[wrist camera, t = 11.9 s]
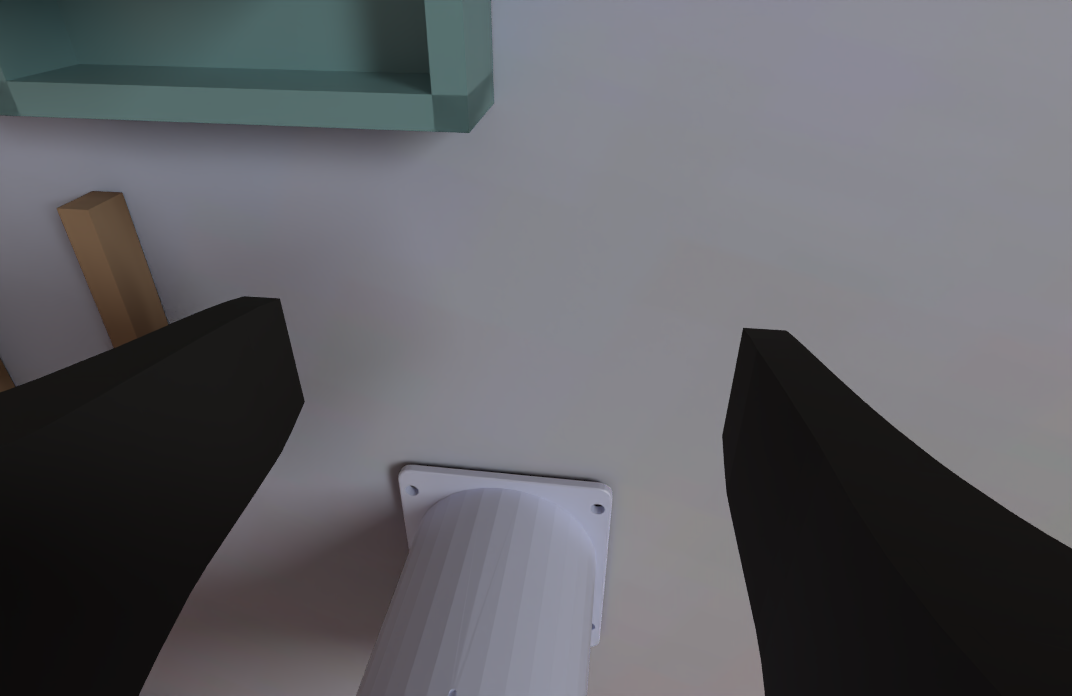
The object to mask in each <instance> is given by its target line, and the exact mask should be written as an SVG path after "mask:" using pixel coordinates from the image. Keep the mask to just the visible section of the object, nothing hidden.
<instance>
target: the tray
mask: <svg viewBox="0 0 1072 696" xmlns="http://www.w3.org/2000/svg"><path fill="white" fill-rule="evenodd" d="M493 104H494V89H493V57H492V25H491V0H0V115H5V116H32V117H59V118H85V119H112V120H139V121H166V122H192V123H219V124H246V125H272V126H299V127H326V128H352V129H379V130H406V131H432V132H459V133H470V131H471V130H472V129H473V128H474V127H475V125H476V124H477V123H478V122H479V121H480V119H481V118H482V117H483V116H484V115H485V113H486V112H487V111H488V110H489V109H490V107H491V106H492V105H493Z"/></svg>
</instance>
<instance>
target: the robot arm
mask: <svg viewBox="0 0 1072 696" xmlns="http://www.w3.org/2000/svg"><path fill="white" fill-rule="evenodd" d="M304 402H305V401H304V397H303V393H302V389H301V385H300V381H299V376H298V372H297V368H296V364H295V360H294V356H293V352H292V347H291V343H290V339H289V335H288V331H287V327H286V323H285V318H284V314H283V310H282V306H281V302H280V299H277V298H261V297H245V296H244V297H240V298H237V299H233V300H230V301H227V302H224V303H221V304H218V305H216V306H213V307H210V308H208V309H205V310H203V311H200V312H198V313H195V314H193V315H191V316H188V317H186V318H183V319H181V320H179V321H176V322H174V323H172V324H169V325H167V326H165V327H162V328H160V329H158V330H155V331H153V332H151V333H148V334H146V335H144V336H141V337H139V338H137V339H134V340H132V341H130V342H128V343H125V344H123V345H121V346H118V347H116V348H113V349H111V350H109V351H106V352H104V353H101V354H99V355H96V356H94V357H91V358H89V359H86V360H84V361H81V362H79V363H76V364H74V365H71V366H69V367H66V368H64V369H61V370H59V371H56V372H54V373H51V374H49V375H46V376H44V377H41V378H39V379H36V380H33V381H31V382H28V383H25V384H22V385H20V386H17V387H14V388H11V389H9V390H6V391H3V392H0V696H139V693H140V691H141V689H142V687H143V685H144V683H145V681H146V679H147V677H148V675H149V673H150V671H151V669H152V667H153V664H154V662H155V660H156V658H157V656H158V654H159V652H160V650H161V648H162V646H163V644H164V643H165V641H166V639H167V637H168V635H169V633H170V631H171V629H172V627H173V625H174V623H175V621H176V620H177V618H178V616H179V614H180V612H181V610H182V608H183V606H184V604H185V602H186V600H187V598H188V597H189V595H190V593H191V591H192V590H193V588H194V586H195V585H196V583H197V581H198V580H199V578H200V576H201V575H202V573H203V572H204V570H205V568H206V567H207V565H208V564H209V562H210V561H211V559H212V558H213V556H214V555H215V553H216V552H217V550H218V549H219V547H220V546H221V544H222V542H223V541H224V539H225V538H226V536H227V535H228V533H229V532H230V530H231V529H232V527H233V526H234V524H235V523H236V521H237V520H238V518H239V517H240V515H241V514H242V512H243V511H244V509H245V508H246V506H247V505H248V503H249V502H250V500H251V499H252V497H253V496H254V494H255V493H256V491H257V490H258V488H259V487H260V485H261V484H262V482H263V481H264V479H265V477H266V476H267V474H268V473H269V471H270V470H271V468H272V467H273V465H274V464H275V462H276V460H277V459H278V457H279V456H280V454H281V452H282V450H283V448H284V446H285V444H286V442H287V440H288V438H289V436H290V434H291V432H292V430H293V427H294V425H295V423H296V420H297V418H298V416H299V414H300V411H301V409H302V407H303V404H304ZM722 438H723V453H724V468H725V479H726V491H727V497H728V502H729V507H730V512H731V517H732V521H733V526H734V531H735V536H736V540H737V545H738V550H739V554H740V559H741V563H742V568H743V573H744V577H745V582H746V586H747V591H748V596H749V600H750V605H751V610H752V614H753V619H754V623H755V628H756V634H757V639H758V645H759V651H760V657H761V663H762V672H763V681H764V690H765V696H1072V549H1071V548H1070V547H1068V546H1066V545H1065V544H1063V543H1061V542H1059V541H1058V540H1056V539H1054V538H1053V537H1051V536H1049V535H1047V534H1046V533H1044V532H1042V531H1041V530H1039V529H1038V528H1036V527H1034V526H1033V525H1031V524H1030V523H1028V522H1026V521H1025V520H1023V519H1022V518H1020V517H1018V516H1017V515H1015V514H1014V513H1012V512H1010V511H1009V510H1008V509H1006V508H1005V507H1003V506H1002V505H1000V504H999V503H997V502H996V501H994V500H993V499H991V498H990V497H988V496H987V495H985V494H984V493H982V492H981V491H979V490H978V489H976V488H975V487H973V486H972V485H970V484H969V483H967V482H966V481H965V480H963V479H962V478H960V477H959V476H957V475H956V474H955V473H953V472H952V471H950V470H949V469H948V468H946V467H945V466H944V465H942V464H941V463H939V462H938V461H937V460H935V459H934V458H933V457H932V456H930V455H929V454H928V453H926V452H925V451H924V450H923V449H921V448H920V447H919V446H918V445H916V444H915V443H914V442H912V441H911V440H910V439H909V438H907V437H906V436H905V435H904V434H902V433H901V432H900V431H898V430H897V429H896V428H895V427H894V426H892V425H891V424H890V423H889V422H888V421H886V420H885V419H884V418H883V417H882V416H880V415H879V414H878V413H877V412H876V411H875V410H873V409H872V408H871V407H870V406H869V405H868V404H867V403H865V402H864V401H863V400H862V399H861V398H860V397H859V396H858V395H856V394H855V393H854V392H853V391H852V390H851V389H850V388H849V387H848V386H846V385H845V384H844V383H843V382H842V381H841V380H840V379H839V378H838V377H837V376H836V375H834V374H833V373H832V372H831V371H830V370H829V369H828V368H827V367H826V366H825V365H824V364H823V363H822V362H821V361H819V360H818V359H817V358H816V357H815V356H814V355H813V354H812V353H811V352H810V351H809V350H808V349H807V348H806V347H805V346H803V345H802V344H801V343H800V342H799V341H798V340H797V339H796V338H795V337H793V336H792V335H791V334H790V333H789V332H787V331H784V330H768V329H752V328H743V332H742V337H741V342H740V347H739V352H738V358H737V363H736V368H735V373H734V378H733V383H732V389H731V394H730V399H729V404H728V409H727V414H726V419H725V425H724V430H723V435H722ZM398 482H399V488H400V495H401V502H402V508H403V515H404V521H405V528H406V534H407V541H408V548H409V554H408V556H407V559H406V562H405V565H404V567H403V570H402V573H401V575H400V578H399V581H398V584H397V586H396V589H395V592H394V594H393V597H392V600H391V602H390V605H389V608H388V611H387V613H386V616H385V619H384V621H383V624H382V627H381V630H380V632H379V635H378V638H377V640H376V643H375V646H374V648H373V651H372V654H371V657H370V659H369V662H368V665H367V667H366V670H365V673H364V676H363V678H362V681H361V684H360V686H359V689H358V692H357V694H356V696H587V689H588V675H589V660H590V647H593V646H596V645H597V644H598V643H599V641H600V630H601V619H602V608H603V597H604V586H605V575H606V564H607V553H608V542H609V531H610V519H611V508H612V495H613V494H612V489H611V488H610V487H609V486H608V485H606V484H604V483H599V482H589V481H578V480H568V479H557V478H547V477H536V476H526V475H515V474H505V473H494V472H484V471H473V470H463V469H452V468H442V467H431V466H421V465H406V466H404V467H403V468H402V469H401V470H400V473H399V475H398ZM411 486H415V487H416V488H413V487H411ZM594 504H600V505H602V506H595V505H594Z"/></svg>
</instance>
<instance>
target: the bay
mask: <svg viewBox="0 0 1072 696" xmlns="http://www.w3.org/2000/svg"><path fill="white" fill-rule="evenodd" d="M57 210H58V213H59V215H60V218H61V220H62V223H63V225H64V227H65V230H66V232H67V235H68V237H69V240H70V242H71V245H72V247H73V249H74V252H75V254H76V257H77V259H78V262H79V264H80V266H81V269H82V271H83V274H84V276H85V279H86V281H87V283H88V286H89V288H90V291H91V293H92V296H93V298H94V301H95V303H96V305H97V308H98V310H99V313H100V315H101V318H102V320H103V322H104V325H105V327H106V330H107V332H108V335H109V337H110V339H111V342H112V344H113V347H114V348H116V347H118V346H121V345H123V344H125V343H128V342H130V341H132V340H134V339H137V338H139V337H141V336H144V335H146V334H148V333H151V332H153V331H155V330H158V329H160V328H162V327H165V326H167V325H168V322H167V319H166V316H165V313H164V311H163V308H162V305H161V302H160V299H159V296H158V293H157V291H156V288H155V285H154V282H153V279H152V276H151V273H150V271H149V268H148V265H147V262H146V259H145V256H144V253H143V250H142V248H141V245H140V242H139V239H138V236H137V233H136V230H135V228H134V225H133V222H132V219H131V216H130V213H129V210H128V208H127V205H126V202H125V199H124V196H123V193H120V192H100V191H92V192H90V193H88V194H85V195H83V196H81V197H79V198H77V199H75V200H73V201H71V202H69V203H67V204H65V205H63V206H61V207H58V208H57ZM14 387H15V385H14V384H13V382H12V380H11V378H10V376H9V374H8V372H7V370H6V368H5V366H4V365H3V363H2V361H1V359H0V392H3V391H6V390H9V389H11V388H14Z"/></svg>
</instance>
